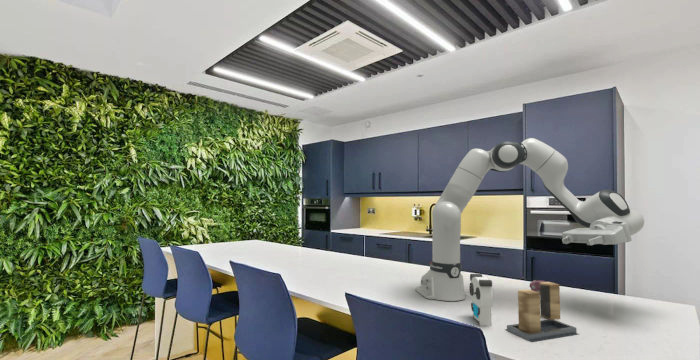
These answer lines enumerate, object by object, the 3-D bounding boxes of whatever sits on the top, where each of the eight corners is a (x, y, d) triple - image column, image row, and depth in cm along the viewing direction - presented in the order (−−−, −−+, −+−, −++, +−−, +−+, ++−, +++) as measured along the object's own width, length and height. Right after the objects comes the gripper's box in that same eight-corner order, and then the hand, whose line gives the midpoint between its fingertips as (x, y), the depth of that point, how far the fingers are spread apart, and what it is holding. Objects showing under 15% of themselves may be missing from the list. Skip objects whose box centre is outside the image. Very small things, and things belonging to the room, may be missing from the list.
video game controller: (530, 295, 152) (527, 282, 150) (532, 289, 155) (530, 276, 153) (555, 300, 145) (553, 286, 143) (558, 293, 149) (555, 279, 147)
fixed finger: (518, 331, 103) (518, 290, 103) (530, 330, 104) (529, 289, 105) (530, 337, 99) (529, 293, 99) (541, 335, 100) (540, 292, 101)
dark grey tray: (504, 332, 104) (504, 324, 105) (549, 326, 111) (549, 317, 111) (532, 346, 95) (531, 336, 95) (579, 337, 101) (579, 328, 101)
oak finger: (539, 319, 117) (539, 282, 118) (549, 317, 118) (548, 281, 119) (550, 323, 113) (549, 285, 114) (560, 321, 115) (559, 284, 115)
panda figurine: (458, 317, 118) (458, 272, 119) (493, 318, 117) (492, 273, 118) (469, 331, 106) (468, 280, 107) (507, 332, 105) (506, 281, 106)
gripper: (576, 223, 135) (548, 232, 131) (631, 222, 115) (600, 233, 111) (581, 239, 135) (553, 249, 131) (636, 241, 115) (606, 253, 111)
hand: (575, 242), depth 121 cm, fingers open, 8 cm apart
